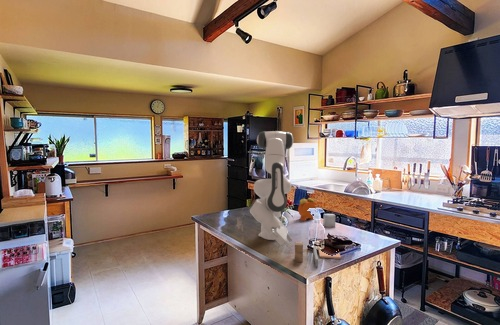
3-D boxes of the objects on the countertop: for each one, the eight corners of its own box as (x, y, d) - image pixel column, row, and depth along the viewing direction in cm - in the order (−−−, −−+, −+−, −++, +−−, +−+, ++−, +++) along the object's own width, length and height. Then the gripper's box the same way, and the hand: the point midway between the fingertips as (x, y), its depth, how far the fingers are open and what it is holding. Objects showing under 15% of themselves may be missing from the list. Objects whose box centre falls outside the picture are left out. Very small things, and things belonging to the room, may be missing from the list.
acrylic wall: (313, 252, 159) (313, 245, 159) (315, 252, 159) (315, 246, 158) (315, 266, 141) (315, 259, 141) (318, 267, 141) (318, 259, 141)
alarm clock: (310, 217, 233) (311, 193, 231) (315, 218, 227) (315, 194, 225) (297, 219, 227) (297, 194, 225) (302, 220, 222) (302, 196, 220)
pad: (318, 249, 164) (318, 247, 164) (337, 250, 163) (337, 248, 162) (319, 257, 153) (319, 255, 152) (340, 258, 151) (340, 257, 151)
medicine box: (333, 224, 211) (333, 213, 210) (335, 226, 207) (335, 215, 206) (323, 225, 211) (323, 213, 210) (324, 226, 206) (325, 215, 206)
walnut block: (294, 258, 152) (294, 242, 151) (302, 258, 151) (302, 242, 151) (294, 261, 148) (294, 244, 147) (302, 261, 147) (302, 245, 146)
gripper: (275, 226, 139) (295, 247, 139) (278, 216, 160) (295, 233, 159) (266, 235, 141) (286, 255, 140) (270, 223, 161) (287, 240, 160)
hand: (291, 243), depth 149 cm, fingers open, 8 cm apart
